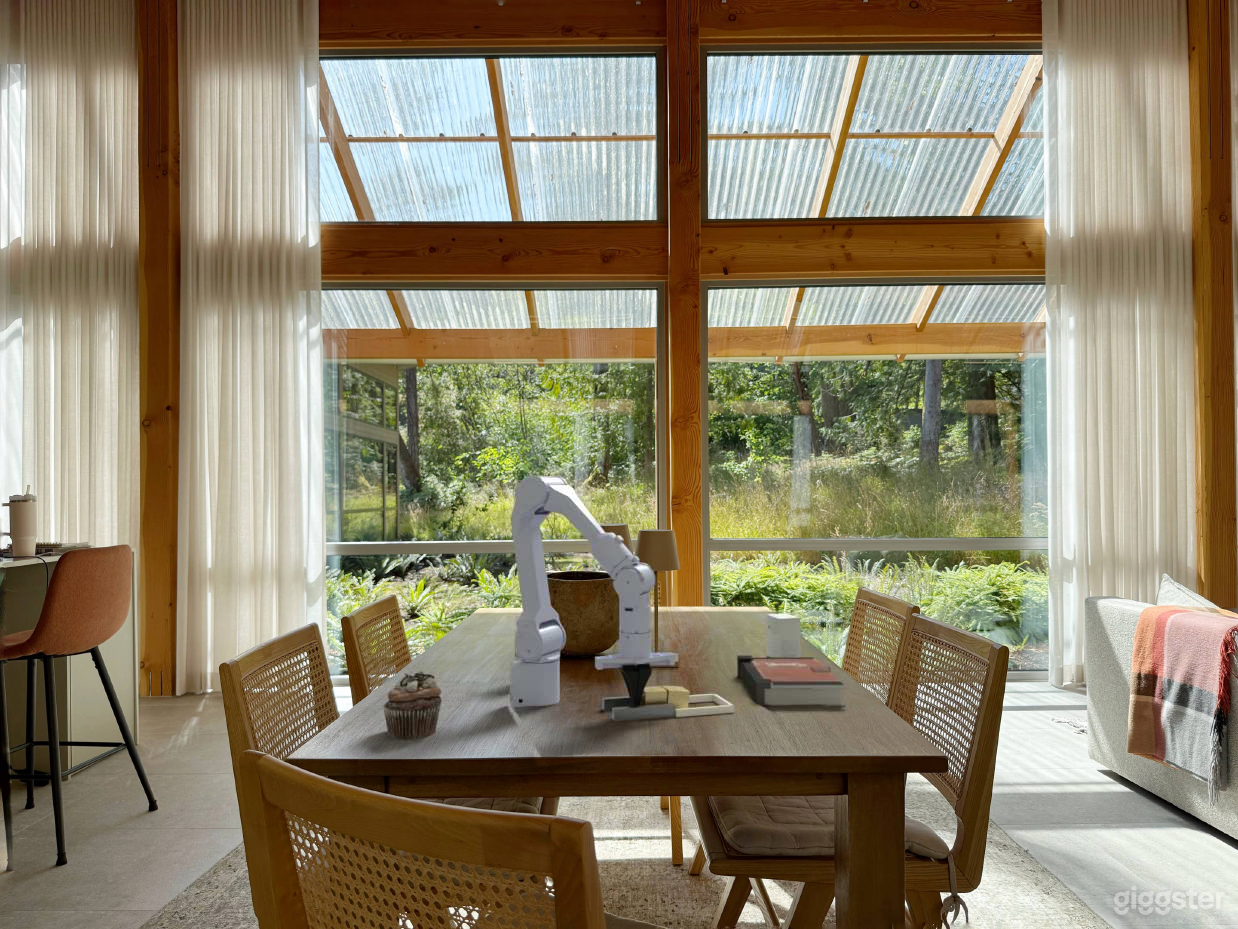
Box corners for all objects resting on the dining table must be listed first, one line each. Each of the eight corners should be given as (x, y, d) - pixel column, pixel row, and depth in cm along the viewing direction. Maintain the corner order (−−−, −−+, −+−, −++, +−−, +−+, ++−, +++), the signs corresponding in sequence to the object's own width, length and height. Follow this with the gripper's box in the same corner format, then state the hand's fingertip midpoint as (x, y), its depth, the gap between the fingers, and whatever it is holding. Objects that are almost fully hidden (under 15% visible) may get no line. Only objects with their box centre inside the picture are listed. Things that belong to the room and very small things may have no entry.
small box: (801, 661, 197) (801, 617, 197) (780, 662, 195) (779, 618, 196) (787, 655, 204) (786, 612, 205) (766, 656, 203) (766, 613, 204)
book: (848, 709, 155) (848, 682, 155) (756, 709, 155) (756, 682, 155) (816, 677, 181) (815, 655, 182) (737, 678, 181) (737, 655, 182)
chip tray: (676, 722, 145) (676, 710, 145) (660, 709, 153) (660, 697, 154) (734, 717, 147) (734, 705, 148) (715, 705, 156) (715, 693, 156)
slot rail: (614, 726, 142) (614, 709, 142) (602, 714, 150) (602, 697, 150) (674, 722, 145) (673, 705, 145) (659, 710, 153) (659, 693, 153)
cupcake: (414, 721, 146) (415, 665, 146) (452, 730, 140) (453, 672, 141) (370, 734, 138) (371, 675, 138) (409, 744, 132) (409, 682, 133)
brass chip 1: (645, 714, 146) (645, 692, 146) (639, 709, 150) (639, 687, 150) (666, 713, 147) (666, 691, 147) (659, 707, 151) (659, 686, 151)
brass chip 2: (666, 713, 147) (669, 690, 147) (659, 707, 151) (662, 685, 151) (687, 714, 148) (689, 691, 148) (680, 708, 152) (682, 686, 152)
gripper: (601, 636, 142) (601, 715, 142) (680, 632, 146) (680, 709, 145) (592, 630, 149) (592, 705, 148) (667, 626, 153) (668, 700, 152)
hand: (635, 707), depth 147 cm, fingers closed
